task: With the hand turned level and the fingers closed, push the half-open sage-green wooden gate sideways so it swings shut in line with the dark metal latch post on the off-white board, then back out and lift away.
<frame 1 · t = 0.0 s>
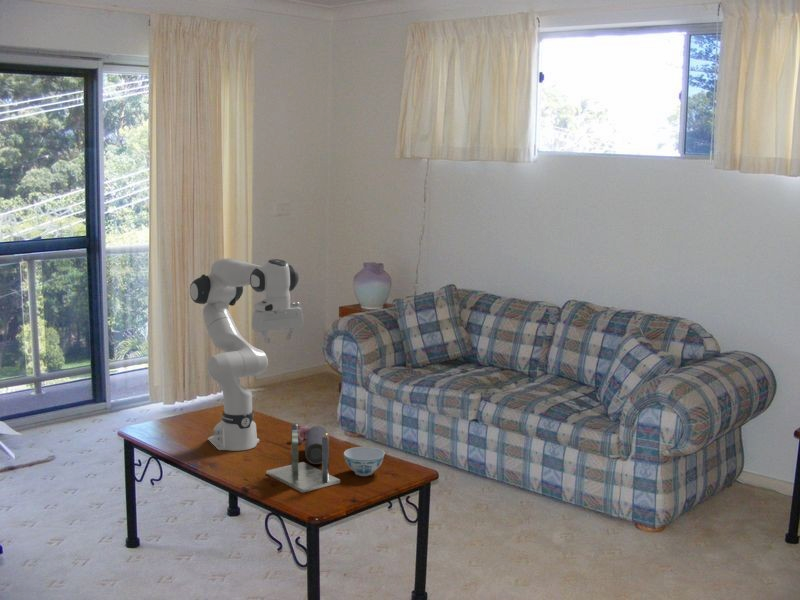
hand: (278, 341, 319), 48 cm above the table, tool pointing down, fingers open, 8 cm apart
gate: (295, 454, 313), point 9 cm above the table, hinge at 32.0°
chinaware: (363, 473, 321), on the table
video game controller: (304, 441, 358), on the table
gate frame: (302, 478, 314), on the table
bluetooth speaker: (316, 458, 337), on the table
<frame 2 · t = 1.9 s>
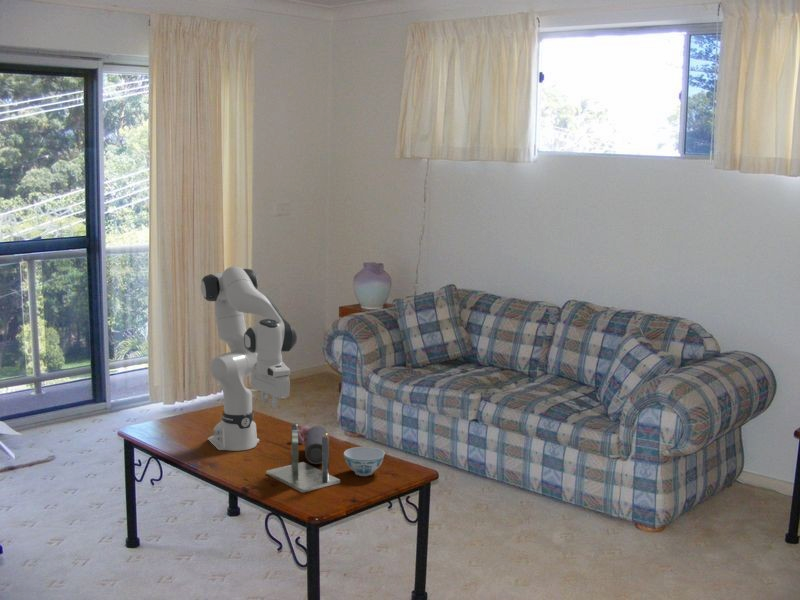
hand: (269, 405, 302), 29 cm above the table, tool pointing down, fingers open, 4 cm apart
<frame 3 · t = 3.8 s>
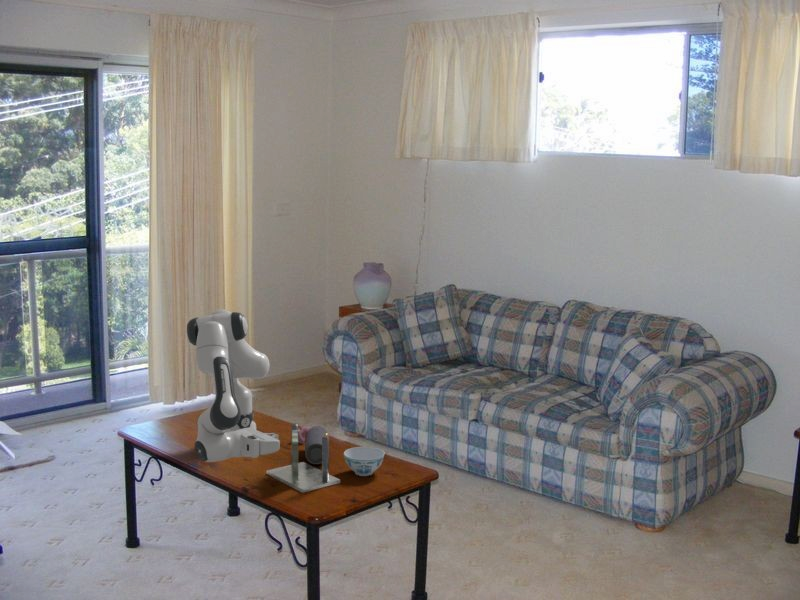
hand: (276, 436, 303), 18 cm above the table, tool horizontal, fingers closed
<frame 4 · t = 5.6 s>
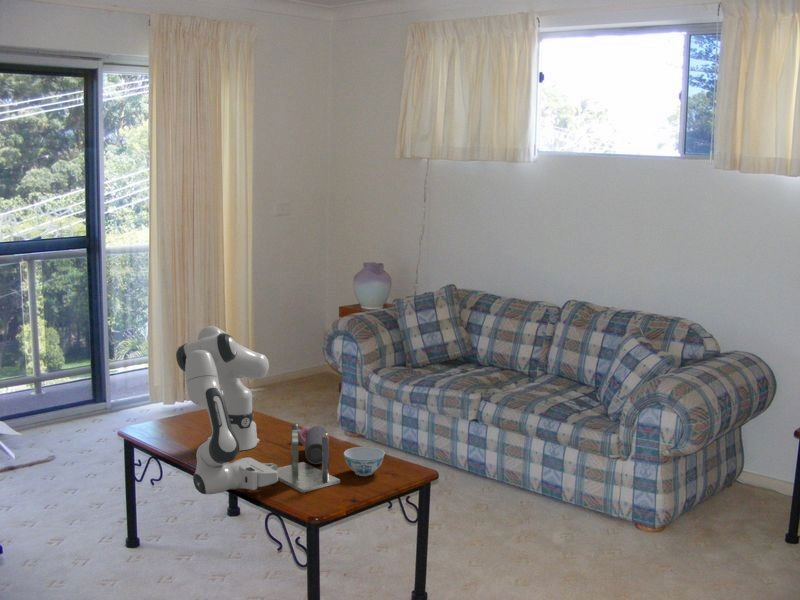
hand: (275, 466, 304), 7 cm above the table, tool horizontal, fingers closed
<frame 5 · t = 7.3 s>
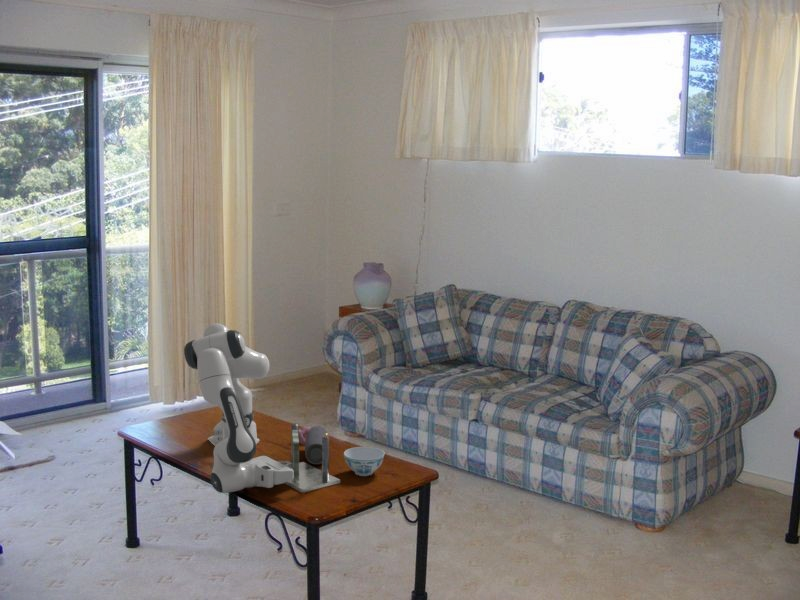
hand: (290, 464, 308), 7 cm above the table, tool horizontal, fingers closed
gate: (295, 454, 313), point 9 cm above the table, hinge at 31.1°, touching gripper
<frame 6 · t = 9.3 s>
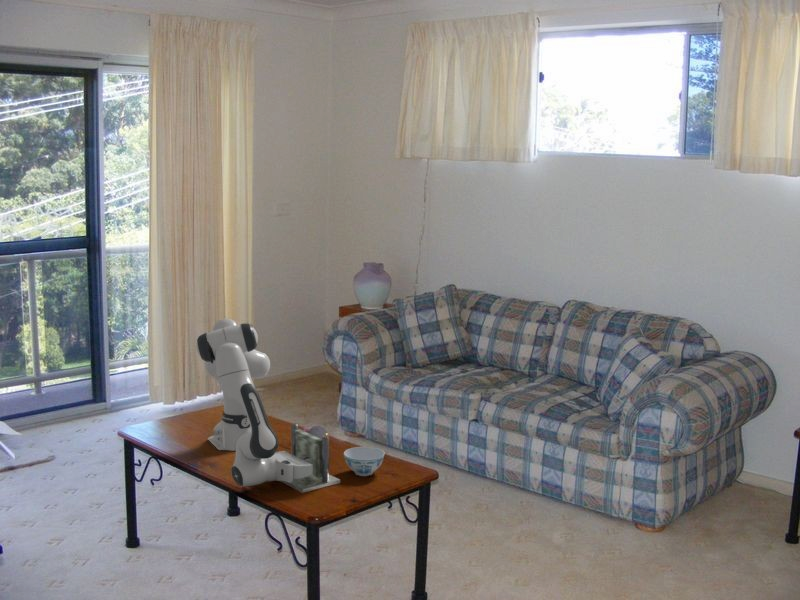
hand: (309, 459, 313), 7 cm above the table, tool horizontal, fingers closed, pressing on gate
gate: (309, 453, 315), point 9 cm above the table, hinge at 0.9°, touching gripper
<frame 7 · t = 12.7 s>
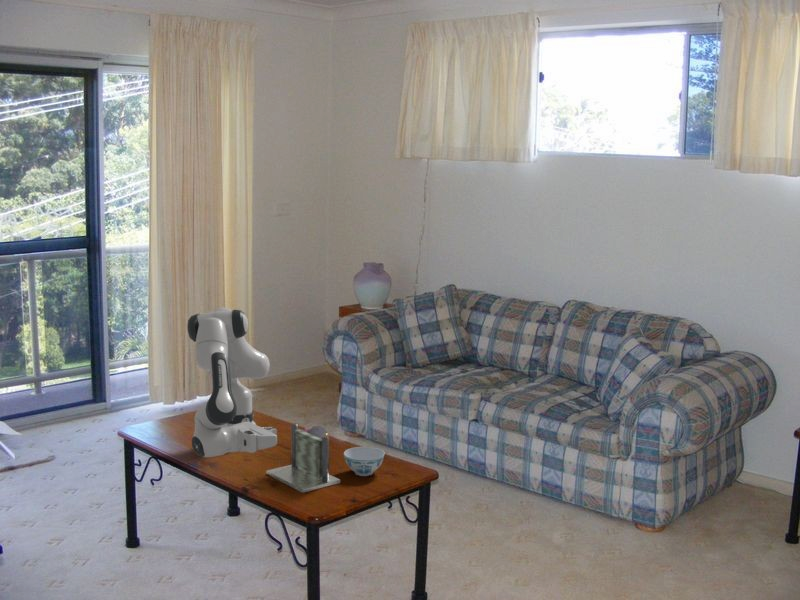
hand: (274, 430, 303), 21 cm above the table, tool horizontal, fingers closed
gate: (309, 453, 315), point 9 cm above the table, hinge at 0.5°
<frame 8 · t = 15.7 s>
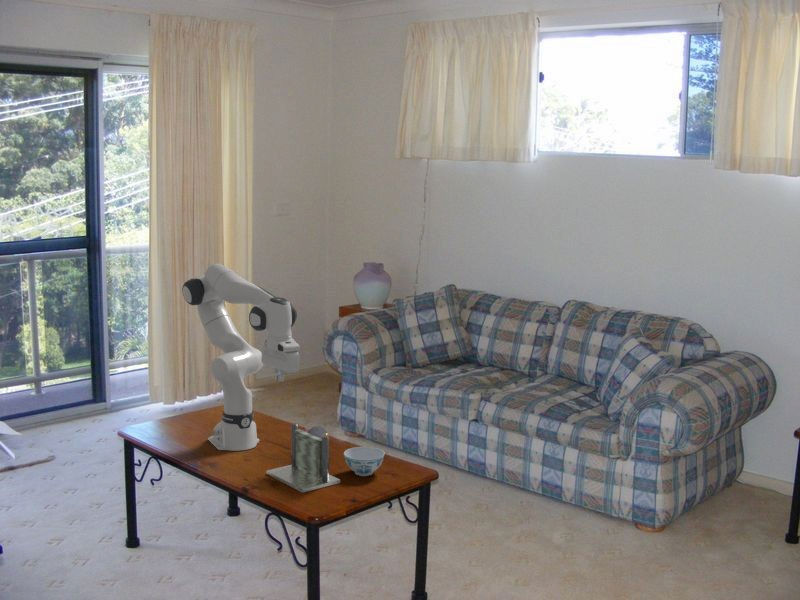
hand: (279, 380, 313), 35 cm above the table, tool pointing down, fingers closed
at the end: gate at +0° (first picture: +32°); chinaware moved 0.2 cm from its start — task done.
